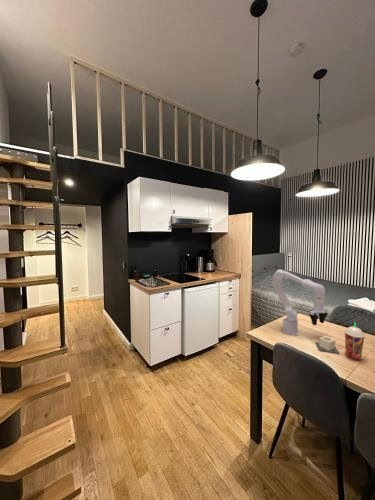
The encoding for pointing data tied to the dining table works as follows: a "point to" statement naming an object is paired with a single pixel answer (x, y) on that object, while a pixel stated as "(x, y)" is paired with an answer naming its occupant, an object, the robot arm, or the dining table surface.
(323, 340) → the collar
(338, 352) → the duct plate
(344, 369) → the dining table surface
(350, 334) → the smoothie
